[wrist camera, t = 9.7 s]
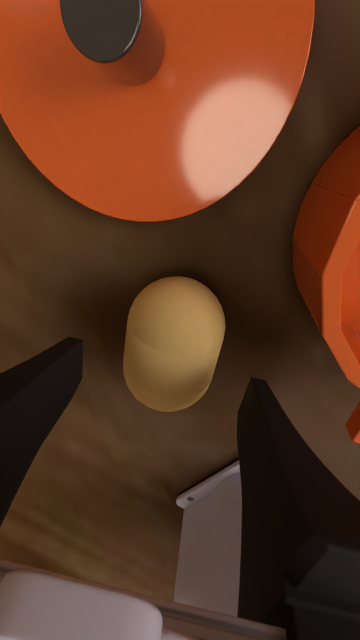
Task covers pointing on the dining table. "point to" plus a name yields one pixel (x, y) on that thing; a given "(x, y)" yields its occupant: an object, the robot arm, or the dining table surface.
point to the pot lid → (150, 95)
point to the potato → (172, 343)
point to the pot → (333, 259)
